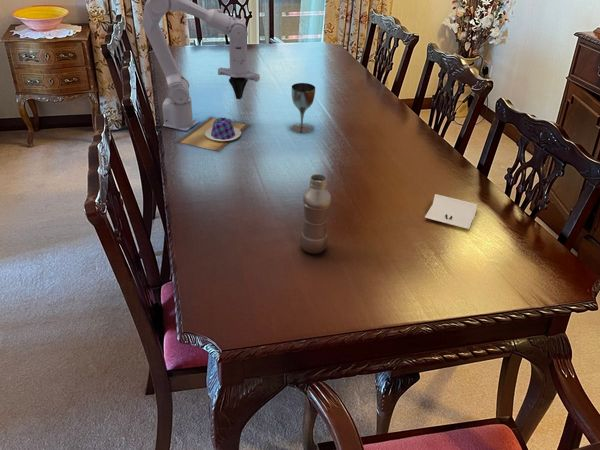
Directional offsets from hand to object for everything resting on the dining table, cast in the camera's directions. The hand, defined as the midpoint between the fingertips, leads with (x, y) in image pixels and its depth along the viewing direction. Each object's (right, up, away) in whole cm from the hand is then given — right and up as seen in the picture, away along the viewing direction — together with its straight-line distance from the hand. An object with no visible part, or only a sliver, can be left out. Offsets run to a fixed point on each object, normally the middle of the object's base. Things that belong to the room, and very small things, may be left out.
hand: (239, 98), depth 189 cm
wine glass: (+21, -10, +4) cm, 24 cm away
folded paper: (+62, -41, -38) cm, 83 cm away
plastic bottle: (+24, -49, -53) cm, 77 cm away
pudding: (-5, -13, -3) cm, 15 cm away
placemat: (-8, -12, -2) cm, 15 cm away
